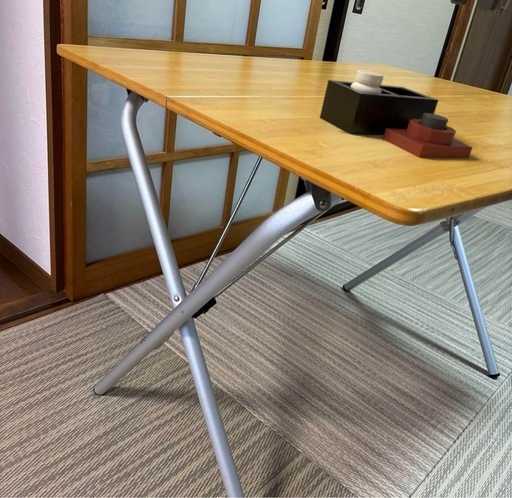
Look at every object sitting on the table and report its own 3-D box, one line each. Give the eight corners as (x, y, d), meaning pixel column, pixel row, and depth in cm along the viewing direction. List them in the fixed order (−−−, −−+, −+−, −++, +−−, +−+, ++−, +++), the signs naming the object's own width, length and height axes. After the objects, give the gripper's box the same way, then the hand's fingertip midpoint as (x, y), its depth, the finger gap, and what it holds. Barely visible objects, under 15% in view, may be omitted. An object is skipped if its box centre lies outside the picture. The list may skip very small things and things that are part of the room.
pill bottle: (355, 132, 78) (370, 75, 74) (334, 122, 81) (348, 67, 77) (376, 132, 81) (392, 77, 77) (356, 122, 84) (370, 69, 80)
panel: (430, 140, 82) (437, 118, 80) (468, 158, 76) (477, 135, 74) (382, 139, 77) (389, 116, 75) (418, 157, 71) (427, 133, 69)
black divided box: (392, 121, 90) (403, 86, 87) (426, 137, 83) (438, 100, 81) (319, 118, 82) (328, 79, 80) (349, 134, 76) (360, 93, 73)
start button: (432, 125, 77) (435, 113, 76) (449, 132, 74) (453, 120, 73) (414, 124, 75) (418, 112, 75) (431, 131, 73) (435, 119, 72)
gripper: (511, -177, 53) (454, 3, 61) (590, -139, 60) (530, 18, 68) (458, -167, 59) (412, -4, 67) (536, -134, 66) (486, 11, 74)
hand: (472, 6), depth 67 cm, fingers open, 4 cm apart
